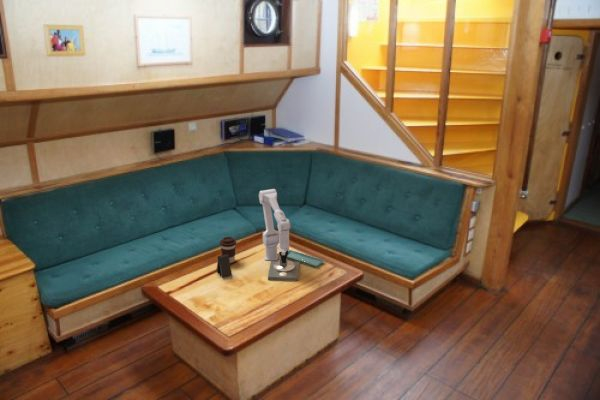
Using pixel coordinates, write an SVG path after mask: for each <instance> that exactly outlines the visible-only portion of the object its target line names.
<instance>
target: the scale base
mask: <svg viewBox="0 0 600 400" xmlns="http://www.w3.org/2000/svg"><path fill="white" fill-rule="evenodd" d="M277 261H278V260H270V265H269V270H268V275H267V280H268V281H287V280H288V281H290V282H292V281H293V282H298V279H299V266H300V263H299V262H298V261H293V260H290V261H291V262H293V263H294V264H295V268H294V269H293V270H291V271H288V272H280V271H277V270H275V269H274V268H273V264H274V263H275V262H277Z"/></svg>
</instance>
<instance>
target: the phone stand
mask: <svg viewBox="0 0 600 400" xmlns="http://www.w3.org/2000/svg"><path fill="white" fill-rule="evenodd" d="M216 273H217V274H218V275H219V276H220V277H221V278H227V277H230V276H231V277H232V276H233V274H232V268H231V263H230V261H229V255H227V254H225V255H222V254H221V255H218V256H217V263H216Z"/></svg>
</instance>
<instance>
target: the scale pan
mask: <svg viewBox="0 0 600 400" xmlns="http://www.w3.org/2000/svg"><path fill="white" fill-rule="evenodd" d="M276 261H277V262H275V263H274V264H273V268H274V269H275V270H277V271H280V272H288V271H291V270H293V269H294V268H295V264H294V263H293V262H291V261H292V260H287V266H286V267H281V266H280V261H279V260H276Z"/></svg>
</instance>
